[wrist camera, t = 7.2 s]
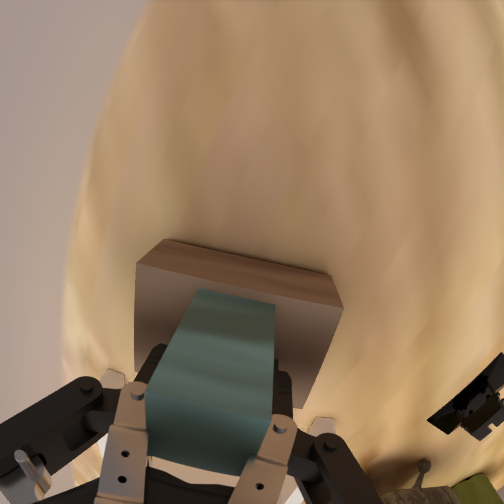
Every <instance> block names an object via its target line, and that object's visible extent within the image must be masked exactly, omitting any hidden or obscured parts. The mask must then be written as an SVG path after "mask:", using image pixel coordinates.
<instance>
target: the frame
mask: <svg viewBox="0 0 504 504" xmlns="http://www.w3.org/2000/svg"><path fill="white" fill-rule="evenodd" d="M99 382H100V383H101V384H102V388H111V389H121V388H122V387H123V386H124V385H125V382H124V374H121V373H118V372H115V371H113V370H110V369H108V370H107V371H106V373H105V374H104V376H103V377H102V378H101V380H100V381H99ZM322 433H333V434H336V433H335V426H334V419H332V418H322V417H316V419H315V420H314V422H313V424H312V426H311V428H310V430H309V432H308V433H307V434H310V435H312V436H315V437H317V436H318V435H320V434H322ZM107 436H108V433H107V434H106V435H105V436H104V437H102V438H101V439H100V440H98V441H97V442H98V445H99V448H100V452H101V455H102V458H103V457H104V452H105V446H106V441H107ZM152 467H153V468H156V469H159V470H162V471H165V472H167V473H169V474H171V475H173V476H175V477H177V478H179V479H181V480H183V481H185V482H187V483H191V484H220V485H226V486H231V487H236V485H237V483H238V480H239V478H240V477H237V476H232V475H226V474H221V473H216V472H211V471H206V470H202V469H198V468H193V467H189V466H185V465H181V464H178V463H174V462H170V461H167V460H163V459H160V458H157V457H153V458H152ZM303 500H304V498H303V496H302V494H301V492H300V490H299V488H298V486H297V484H296V481H295V479H294V477H292V476H289V475H287V474H286V477H285V480H284V483H283V486H282V489H281V492H280V495H279V498H278V501H277V504H301V503H302V501H303Z"/></svg>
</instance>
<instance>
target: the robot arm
mask: <svg viewBox="0 0 504 504" xmlns="http://www.w3.org/2000/svg"><path fill="white" fill-rule="evenodd" d="M170 341H171V340H170ZM169 343H170V342H169ZM168 345H169V344H168ZM168 345H166V344H162V343H160V344H158V345H157V346H155V347H153V348H152V350H151V352H150V353H149V356H148V357H147V359H146V360H145V362H144V364H143V366H142V367H141V369H140V371H139V372H138V374H137V376H136V378H135V379H134V381H133V382H129V383H127V384H125V385H124V386H123V387H122V388H121V389H111V388H102V384H101V383H100V382H99V381H98V380H97V379H95V378H93V377H89V376H83V377H79V378H77V379H75V380H74V381H72V382H70V383H69V384H67V385H65V386H64V387H62V388H60V389H59V390H57V391H55V392H54V393H52V394H51V395H49V396H47V397H45V398H44V399H42V400H40V401H38V402H37V403H35V404H34V405H32V406H30V407H28V408H27V409H25V410H23V411H22V412H20V413H18V414H16V415H15V416H13V417H11V418H10V419H8V420H6V421H5V422H3V423H1V424H0V491H1V492H2V493H3V494H4V496H5V497H6V498H7V500H8V501H9V502H10V503H11V504H277V501H278V498H279V495H280V492H281V489H282V486H283V483H284V480H285V477H286V474H287V475H289V476H292V477H294V479H295V481H296V484H297V486H298V488H299V490H300V492H301V494H302V496H303V498H304V500H305V503H306V504H384V503H383V501H382V500H381V498H380V496H379V495H378V493H377V492H376V490H375V489H374V487H373V486H372V484H371V482H370V481H369V479H368V478H367V476H366V475H365V473H364V471H363V470H362V468H361V467H360V465H359V464H358V462H357V460H356V459H355V457H354V456H353V454H352V452H351V451H350V449H349V448H348V446H347V444H346V443H345V441H344V440H343V439H342V438H341V437H340V436H338V435H336V434H333V433H322V434H320V435H318V436H317V437H315V436H312V435H310V434H307V433H305V432H303V431H301V430H300V429H299V428H298V427H297V425H296V423H295V422H294V421H293V404H292V379H291V377H290V376H289V374H288V372H286V371H280V370H278V366H279V361H278V359H274V370H273V396H272V420H271V423H270V426H269V428H268V430H267V433H266V435H265V438H264V440H263V442H262V445H261V447H260V449H259V452H258V454H255V453H251V454H250V456H249V458H248V460H247V463H246V465H245V467H244V469H243V472H242V474H241V476H240V478H239V480H238V483H237V485H236V487H231V486H226V485H220V484H191V483H187V482H185V481H183V480H181V479H179V478H177V477H175V476H173V475H171V474H169V473H167V472H165V471H162V470H159V469H156V468H153V467H152V458H153V456H151V449H150V439H151V434H150V429H149V428H146V420H145V389H146V387H147V385H148V383H149V381H150V379H151V377H152V375H153V373H154V372H155V370H156V368H157V366H158V364H159V362H160V360H161V358H162V356H163V354H164V352H165V350H166V348H167V347H168ZM107 433H108V436H107V441H106V446H105V452H104V457H103V463H102V468H101V474H100V477H99V478H96V479H94V480H92V481H90V482H87V483H85V484H82V485H80V486H77V487H75V488H73V489H70V490H67V491H65V492H62V493H59V494H57V495H54V496H51V497H48V498H46V499H44V495H45V493H46V492H47V491H48V490H49V489H50V487H51V485H52V479H51V476H52V475H53V474H54V473H56V472H57V471H58V470H60V469H61V468H62V467H64V466H65V465H67V464H68V463H69V462H71V461H72V460H73V459H75V458H76V457H77V456H79V455H80V454H81V453H83V452H84V451H85V450H87V449H88V448H89V447H91V446H92V445H93V444H94V443H96V442H97V441H98V440H100V439H101V438H102V437H104V436H105V435H106V434H107Z"/></svg>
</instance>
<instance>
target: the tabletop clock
mask: <svg viewBox="0 0 504 504" xmlns="http://www.w3.org/2000/svg"><path fill="white" fill-rule="evenodd" d="M430 469H431V462H430V461H428V460H424V461H422V462H420V464H419V465H418V470H419V472H420V474H419V476H418V478H417V480H416V482H415V484H414V486H413V487H412V489H398V490H393V491H390V492H387V493H385V494H383V495H381V496H380V498H381V500H382V501H383V503H384V504H461V502H460V500H459V498H458V497H457V495H456V494H455V492H454V491H453V490H452V489H451V488H449V487H448V486H441V487H430V488H421V484H422V481H423V477H424V473H426V472H428V471H429V470H430Z"/></svg>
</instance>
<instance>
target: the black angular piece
mask: <svg viewBox="0 0 504 504" xmlns="http://www.w3.org/2000/svg"><path fill="white" fill-rule="evenodd" d="M503 387H504V354H503V353H502V352H501V353H500V354H499V355H498V356H497V357H496V358H495V359H494V360H493V361H492V362H491V363H490V364H489V365H488V366H487V367H486V368H485V369H484V370H483V371H482V372H481V373H480V374H479V375H478V376H477V377H476V378H475V379H474V380H473V381H472V382H471V383H470V384H469V385H467V386H466V387H465V388H464V389H463V390H462V391H461V392H460V393H459V394H457V395H456V396H455V397H454V398H453V399H452V400H451V401H449V402H448V403H447V404H446V405H445V406H443V407H442V408H441V409H440V410H438V411H437V412H436V413H435V414H433V415H432V416H431V417H430V418H428V419H427V421H428V422H429V423H431V424H432V425H434V426H435V427H437V428H438V429H440V430H441V431H443V432H444V433H446V434H447V435H448V434H450V433H451V432H453V431H454V430H455V429H457V428H458V427H459V426H461V428H464V430H466V431H467V432H468V433H470V435H472V436H473V437H474V438H476V439H477V440H479V441H481V440H482V439H483V438H485V437H486V436H487V435H488V434H489V433H491V432H492V430H491V428H490V427H489V425H490V424H491V423H493V424H494V425H495V426H496V427H498V426H499V425H500V424H501V423H502V422H503V421H504V398H502V399H501V398H500V393H499V391H500V390H501V389H502V388H503Z"/></svg>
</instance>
